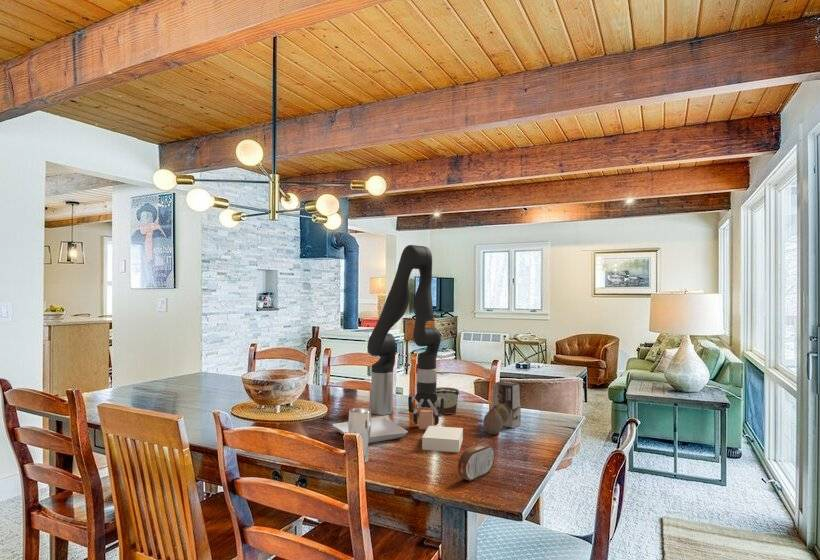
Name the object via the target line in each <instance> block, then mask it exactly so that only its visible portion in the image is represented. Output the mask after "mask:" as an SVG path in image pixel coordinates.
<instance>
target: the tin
mask: <svg viewBox="0 0 820 560" xmlns="http://www.w3.org/2000/svg"><path fill="white" fill-rule="evenodd" d="M495 452H496V451H495V448H494V447H493V446H492V445H490V444H488V443H485V442H481V443H479V444H476V445H474V446H471V447H468V448H466V449H465V450H463V451H462V453H461V455H460V456H459V459H458V462H457V473H458V476H459V477H460V478H461V479H464V480H466V481H470V482H472V481H473V480H476V479H480V477H483V476H486V475H487V474H489V473H490V472H491V471H492V469H493V467H494V463H495V456H496V455H495V454H496V453H495Z"/></svg>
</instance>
